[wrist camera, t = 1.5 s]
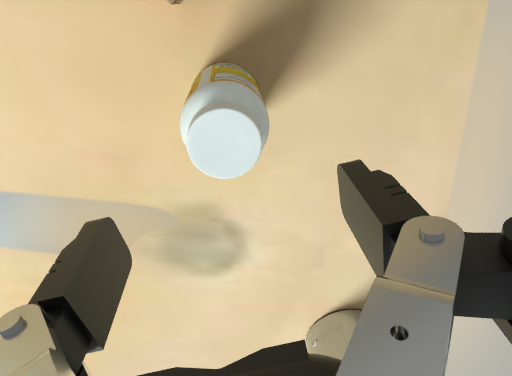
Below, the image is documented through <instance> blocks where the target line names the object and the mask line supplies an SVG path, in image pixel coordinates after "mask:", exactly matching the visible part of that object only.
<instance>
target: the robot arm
mask: <svg viewBox="0 0 512 376" xmlns="http://www.w3.org/2000/svg"><path fill="white" fill-rule="evenodd" d="M337 173H338V183H339V193H340V202H341V208H342V212H343V215H344V218H345V220H346V222H347V224H348V225H349V227H350V229H351V231H352V233H353V234H354V236H355V238H356V240H357V242H358V243H359V245H360V247H361V249H362V251H363V252H364V254H365V256H366V258H367V260H368V261H369V263H370V265H371V267H372V269H373V271H374V272H375V274H376V276H377V277H376V278H375V280H374V282H373V284H372V286H371V289H370V291H369V294H368V296H367V299H366V301H365V304H364V306H363V309H362V311H360V310H345V311H339V312H335V313H333V314H330V315H327V316H326V317H324V318H322V319H320V320H319V321H318V322H317V323H315V324H314V325H313V326H312V328H311V329H310V330H309V332H308V334H307V338H306V343H307V348H308V352H309V353H308V352H307V348H306V343H305V340H301V341H296V342H291V343H287V344H282V345H278V346H273V347H268V348H264V349H261V350H259V351H257V352H255V353H253V354H250V355H248V356H246V357H244V358H242V359H240V360H238V361H236V362H234V363H232V364H230V365H227V366H225V367H223V368H220V369H201V368H182V367H175V368H171V369H166V370H161V371H157V372H152V373H147V374H143V375H138V376H445V371H446V365H447V359H448V351H449V346H450V339H451V333H452V327H453V320H454V316H464V317H478V318H492V319H493V320H494V321H495V323H496V324H497V325H498V327H499V328H500V329H501V331H502V332H503V333H504V335H505V336H506V337H507V339H508V340H509V341H510V343H511V344H512V217H511V218H509V219H508V220H506V221H505V222H504V224H503V227H502V232H501V233H469V232H468V233H467V232H463V230H462V229H461V228H460V227H459V226H458V225H457V224H456V223H454V222H452V221H450V220H448V219H445V218H442V217H437V216H430V215H429V214H428V213H427V212H426V211H425V210H424V209H423V208H422V207H421V206H420V204H419V203H418V202H417V201H416V200H415V199H414V198H413V197H412V196H411V195H410V194H409V193H407V191H406V190H405V189H404V188H403V187H402V186H400V184H399V182H398V181H397V180H396V179H395V178H394V177H393V176H392V175H389V174H387V173H385V172H383V171H380V170H376V171H372V172H371V171H370V170H369V169H368V168H367V167H366V165H365V164H364V163H363V162H362V161H361V160H355V161H351V162H347V163H342V164H338V166H337ZM131 266H132V258H131V253H130V251H129V249H128V247H127V245H126V243H125V241H124V239H123V238H122V236H121V234H120V232H119V230H118V228H117V226H116V224H115V222H114V221H113V220H112V219H111V218H110V217H106V218H102V219H98V220H93V221H89V222H86V223H85V224H84V226H83V227H82V229H81V230H80V232H79V234H78V235H77V237H76V239H74V240H73V241H72V242H71V243H70V244H69V245H68V246H66V247H65V248H64V249H63V250H62V251H61V253H60V254H59V256H58V258H57V259H56V261H55V264H53V265H52V267H51V269H50V270H49V273H48V274H47V275H46V276H45V278H44V280H43V281H42V283H41V284H40V286H39V287H38V289H37V290H36V292H35V294H34V295H33V297H32V298H31V300H30V301H29V303H28V304H27V305H23V306H20V307H18V308H15V309H13V310H11V311H10V312H8V313H6V314H5V315H3V316H2V317H1V318H0V376H92V375H91V373H90V371H89V369H88V367H87V366H86V364H85V363H84V362H83V360H84V357H85V355H86V354H87V353H91V352H96V351H100V350H103V349H104V346H105V343H106V340H107V337H108V334H109V331H110V328H111V325H112V322H113V319H114V317H115V314H116V311H117V308H118V305H119V302H120V299H121V296H122V293H123V290H124V287H125V284H126V281H127V278H128V276H129V273H130V270H131Z"/></svg>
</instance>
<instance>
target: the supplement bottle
mask: <svg viewBox="0 0 512 376" xmlns="http://www.w3.org/2000/svg"><path fill="white" fill-rule="evenodd" d="M180 131H181V136H182V139H183V141H184V144H185V145H186V147H187V151H188V154H189V156H190V159H191V160H192V162H193V163H194V165H195V166H196V167H197V168H198V169H199V170H201V171H202V172H204V173H205V174H207V175H209V176H212V177H215V178H221V179H229V178H235V177H238V176H241V175H243V174H245V173H246V172H248V171H249V170H250V169H251V168H252V167H253V166H254V165H255V164H256V162H257V161H258V159H259V157H260V154H261V151H262V148H263V147H264V145H265V143H266V140H267V137H268V133H269V118H268V113H267V110H266V107H265V104H264V101H263V99H262V96H261V93H260V90H259V88H258V85H257V83H256V81H255V80H254V78H253V77H252V76H251V74H250V73H248V72H247V71H246V70H245V69H243V68H242V67H240V66H238V65H235V64H231V63H218V64H214V65H211V66H209V67H207V68H205V69H204V70H203V71H202V72H201V73H200V74H199V75H198V76H197V77H196V79H195V80H194V82H193V85H192V87H191V89H190V92H189V94H188V97H187V99H186V101H185V103H184V106H183V109H182V112H181V116H180Z"/></svg>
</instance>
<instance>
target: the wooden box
mask: <svg viewBox="0 0 512 376" xmlns="http://www.w3.org/2000/svg"><path fill="white" fill-rule="evenodd" d="M181 1H182V0H168V2H169V3H170V4H180V3H181Z"/></svg>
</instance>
